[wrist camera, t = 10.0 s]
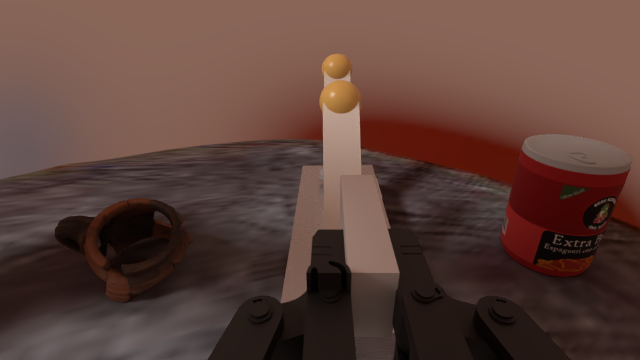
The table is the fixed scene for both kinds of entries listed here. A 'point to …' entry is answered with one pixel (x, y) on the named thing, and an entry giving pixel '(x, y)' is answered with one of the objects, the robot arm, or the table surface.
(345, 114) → the toggle
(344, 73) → the toggle
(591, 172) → the canned food
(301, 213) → the switch box
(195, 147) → the table surface
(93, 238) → the pottery mug
